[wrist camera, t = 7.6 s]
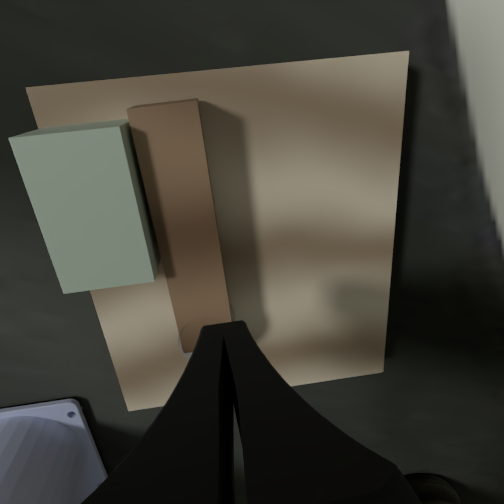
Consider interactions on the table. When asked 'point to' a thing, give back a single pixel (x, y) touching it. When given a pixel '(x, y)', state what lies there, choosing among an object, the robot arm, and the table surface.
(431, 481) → the container
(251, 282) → the stool seat
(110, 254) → the block
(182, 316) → the stool leg
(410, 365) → the table surface
